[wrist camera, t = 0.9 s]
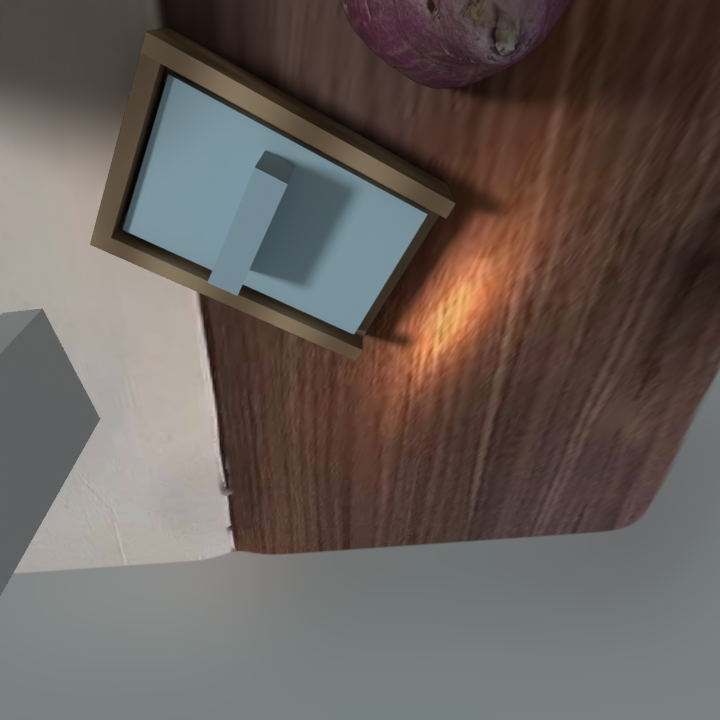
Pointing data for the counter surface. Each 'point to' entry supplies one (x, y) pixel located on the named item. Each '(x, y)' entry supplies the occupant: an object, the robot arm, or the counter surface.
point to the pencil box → (283, 112)
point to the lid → (266, 209)
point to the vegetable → (452, 35)
